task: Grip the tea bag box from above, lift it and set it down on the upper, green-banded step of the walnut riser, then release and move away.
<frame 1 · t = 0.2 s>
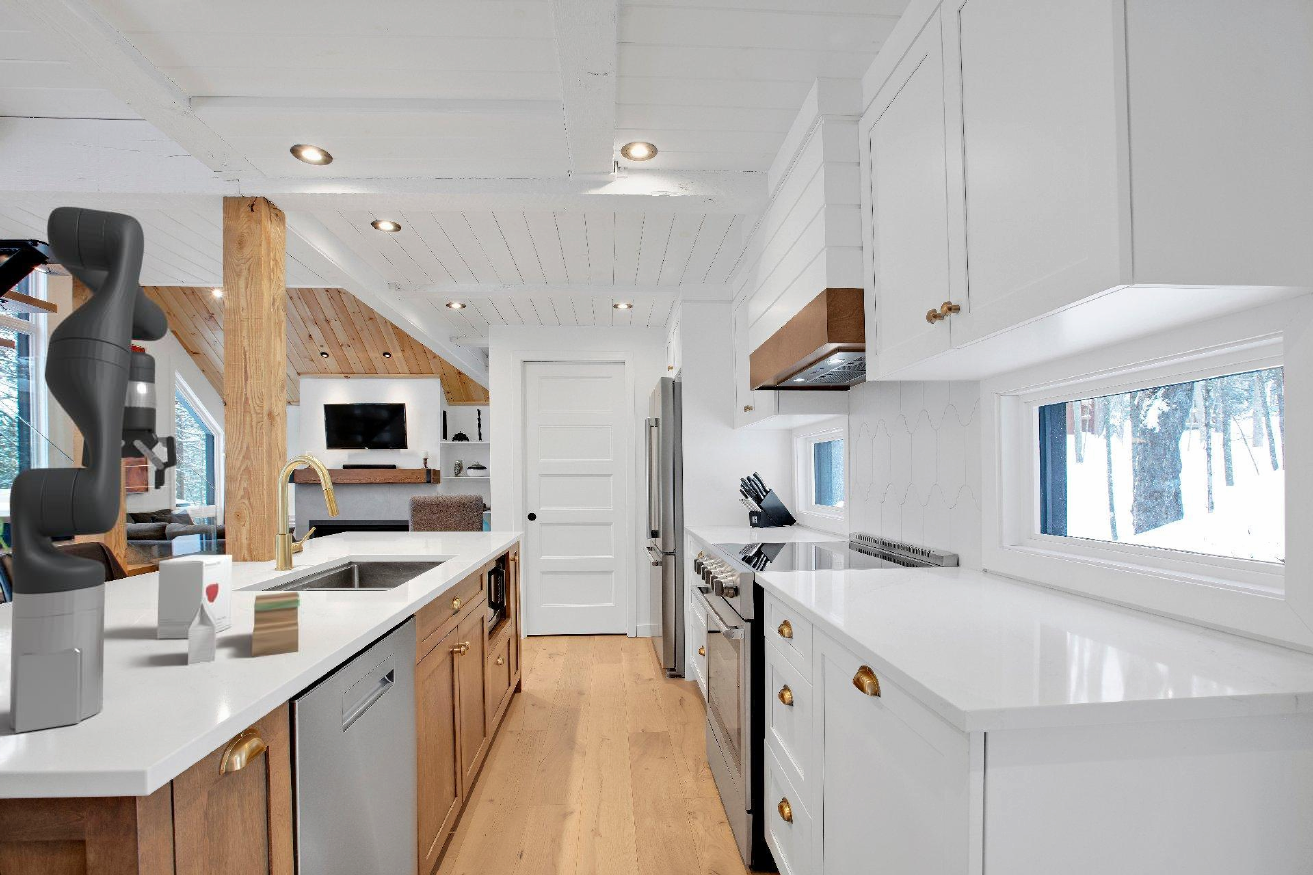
hand: (130, 489, 128), 29 cm above the countertop, tool pointing down, fingers open, 8 cm apart
supplement box: (195, 634, 131), on the countertop
riser: (276, 644, 122), on the countertop
tea bag: (202, 659, 114), on the countertop
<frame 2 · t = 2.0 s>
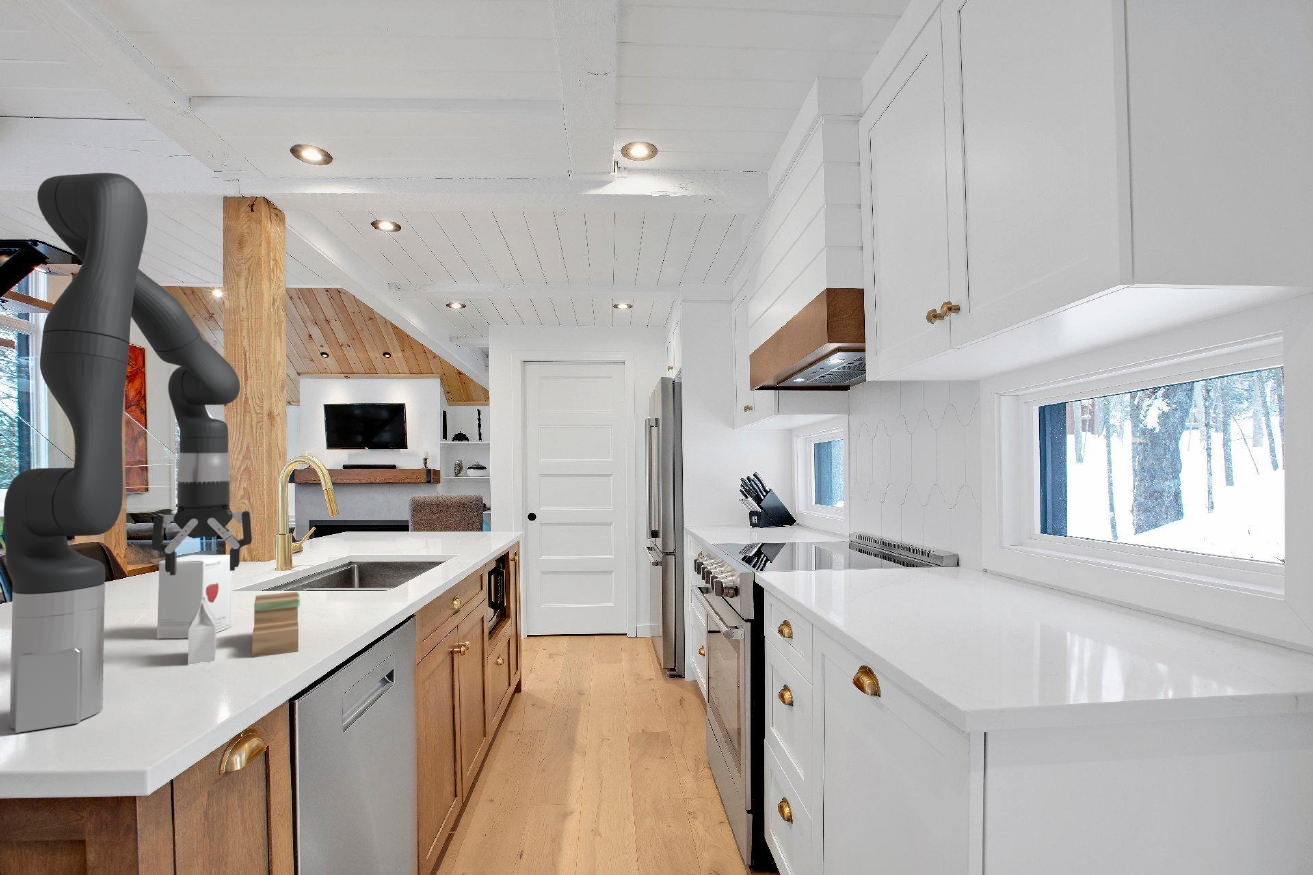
hand: (203, 572, 115), 15 cm above the countertop, tool pointing down, fingers open, 8 cm apart
nothing on the countertop moved.
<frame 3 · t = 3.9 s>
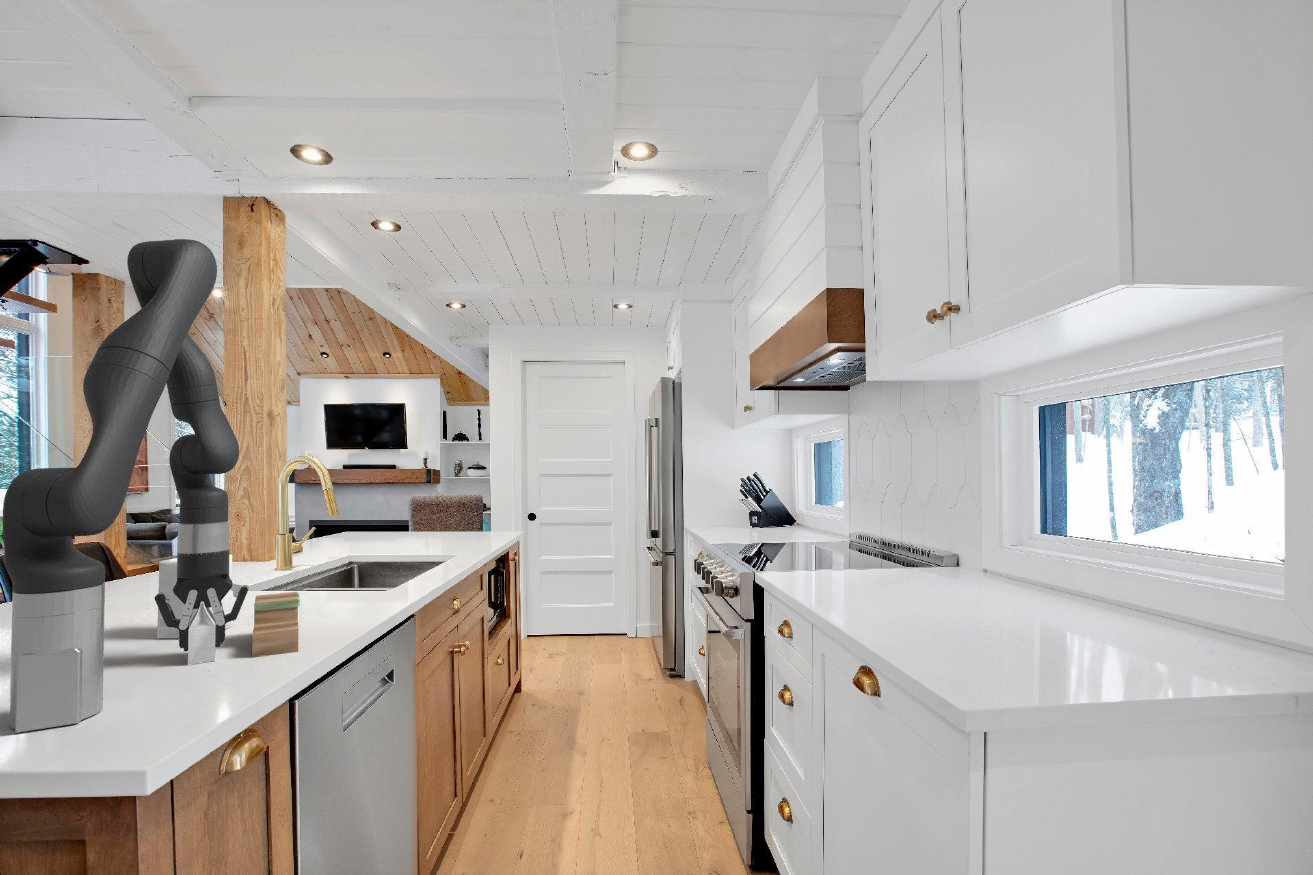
hand: (202, 647, 114), 2 cm above the countertop, tool pointing down, fingers closed on tea bag, 3 cm apart
tea bag: (202, 659, 114), on the countertop, touching gripper
everything else where it was.
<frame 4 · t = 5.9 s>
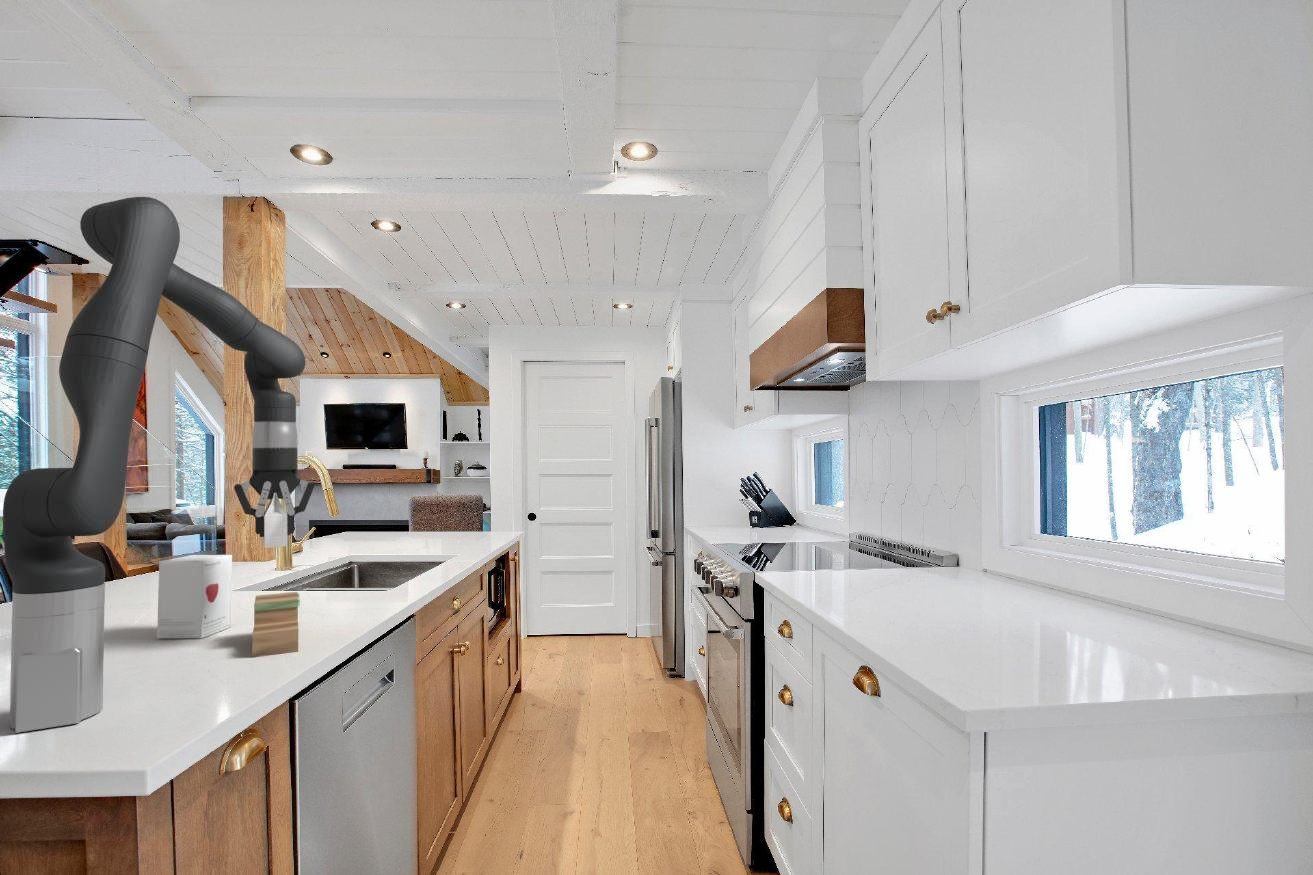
hand: (275, 535, 126), 20 cm above the countertop, tool pointing down, fingers closed on tea bag, 3 cm apart
tea bag: (275, 545, 126), point 18 cm above the countertop, touching gripper
everything else where it was.
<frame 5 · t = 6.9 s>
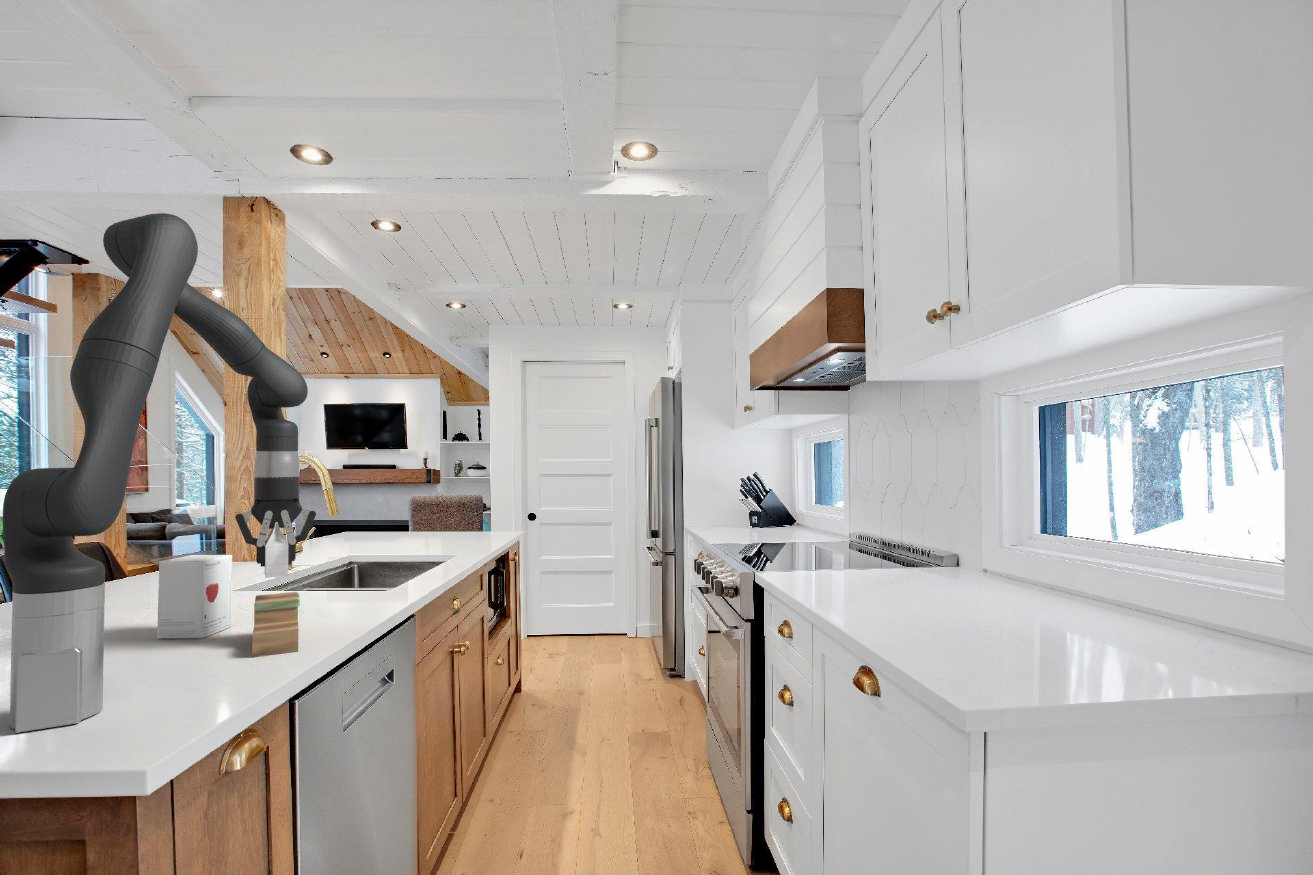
hand: (276, 564, 126), 14 cm above the countertop, tool pointing down, fingers closed on tea bag, 3 cm apart
tea bag: (276, 575, 126), point 12 cm above the countertop, touching gripper
everything else where it was.
when the fingers open (11 cm above the countertop, at t = 7.9 s): tea bag stays where it is, resting on riser.
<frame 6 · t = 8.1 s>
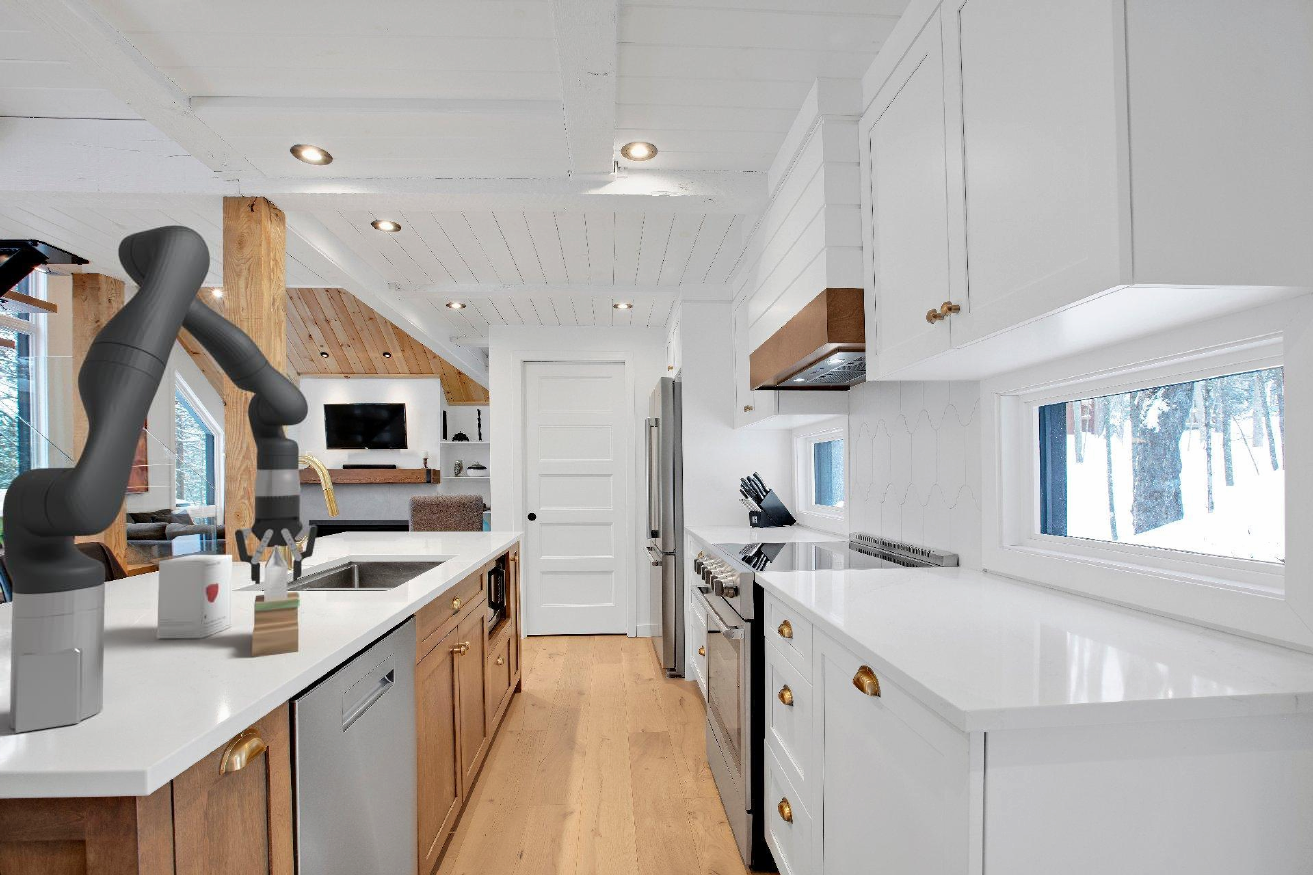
hand: (276, 581, 126), 11 cm above the countertop, tool pointing down, fingers open, 5 cm apart
tea bag: (276, 598, 126), point 8 cm above the countertop, touching riser
everything else where it was.
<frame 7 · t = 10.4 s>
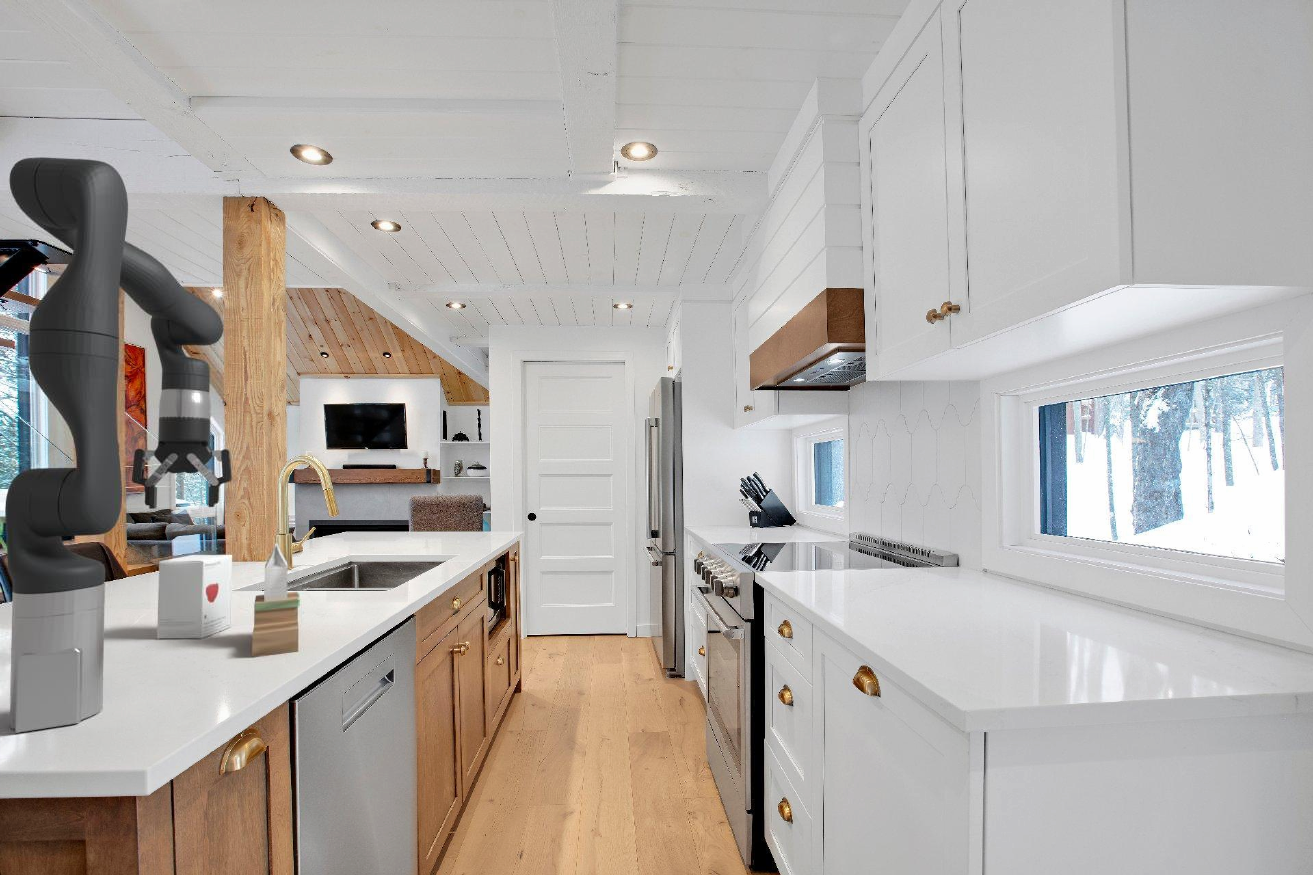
hand: (182, 507, 117), 26 cm above the countertop, tool pointing down, fingers open, 8 cm apart
nothing on the countertop moved.
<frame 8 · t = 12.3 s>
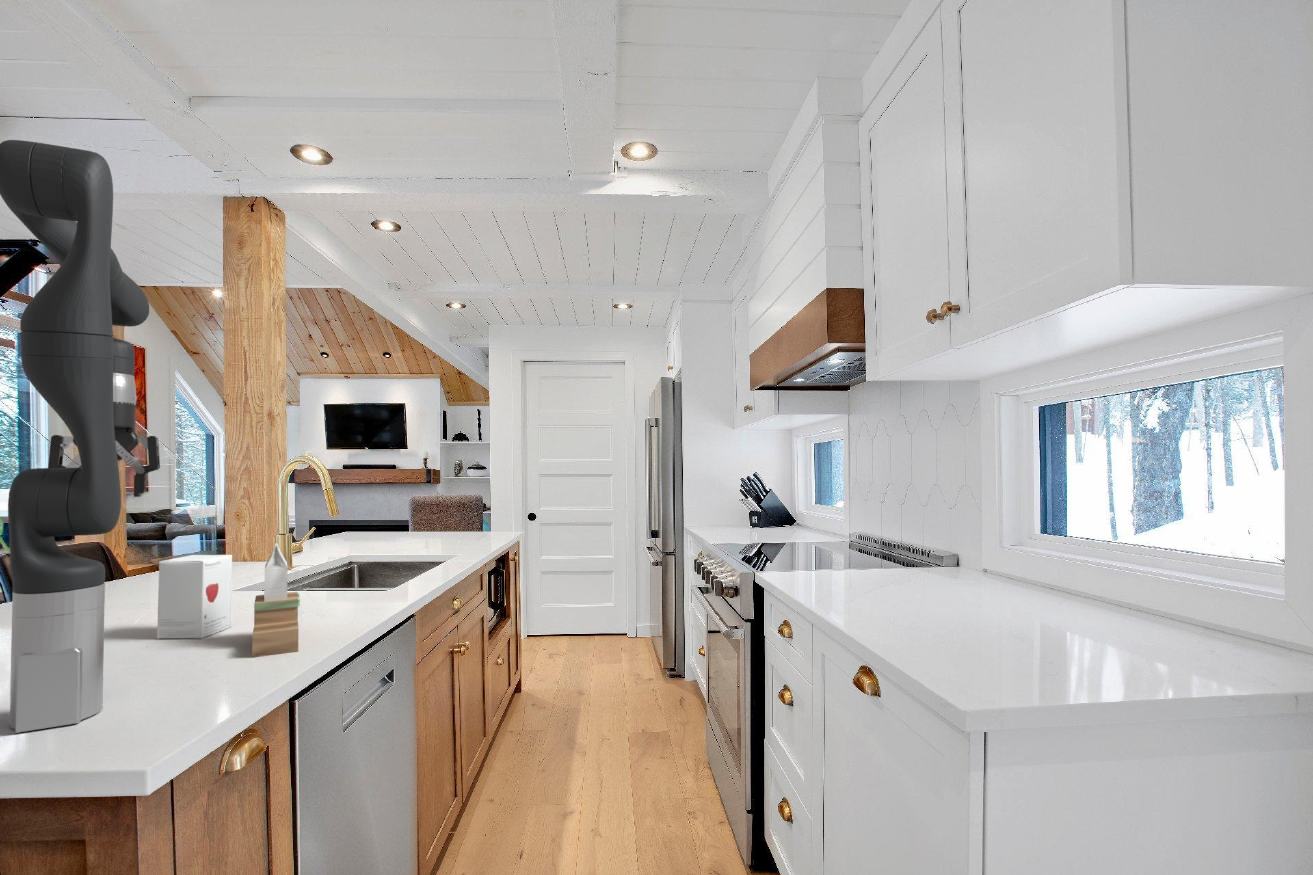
hand: (105, 497, 111), 28 cm above the countertop, tool pointing down, fingers open, 8 cm apart
nothing on the countertop moved.
at the end: tea bag inside the target area on the riser (0.5 cm from its centre), point 7.8 cm above the riser's base; tea bag tilted 0°; the gripper is holding nothing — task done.
